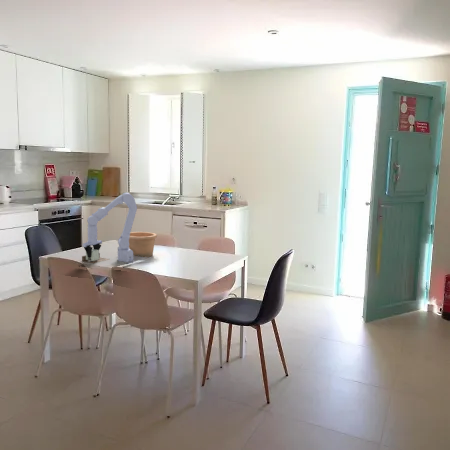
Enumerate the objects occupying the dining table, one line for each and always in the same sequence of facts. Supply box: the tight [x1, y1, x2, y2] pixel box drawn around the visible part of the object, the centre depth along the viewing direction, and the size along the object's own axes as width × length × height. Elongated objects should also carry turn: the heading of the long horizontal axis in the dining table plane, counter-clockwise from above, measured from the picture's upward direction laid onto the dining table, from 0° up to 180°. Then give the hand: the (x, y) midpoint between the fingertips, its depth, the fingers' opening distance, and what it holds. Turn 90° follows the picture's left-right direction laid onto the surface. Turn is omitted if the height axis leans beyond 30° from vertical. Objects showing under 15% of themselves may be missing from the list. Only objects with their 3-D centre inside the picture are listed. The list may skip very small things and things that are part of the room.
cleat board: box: [81, 252, 110, 264], centre depth 284 cm, size 10×14×4 cm
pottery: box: [129, 231, 158, 258], centre depth 309 cm, size 22×22×14 cm
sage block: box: [85, 248, 100, 261], centre depth 281 cm, size 6×5×6 cm
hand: (92, 256), depth 281 cm, fingers closed on sage block, 5 cm apart
